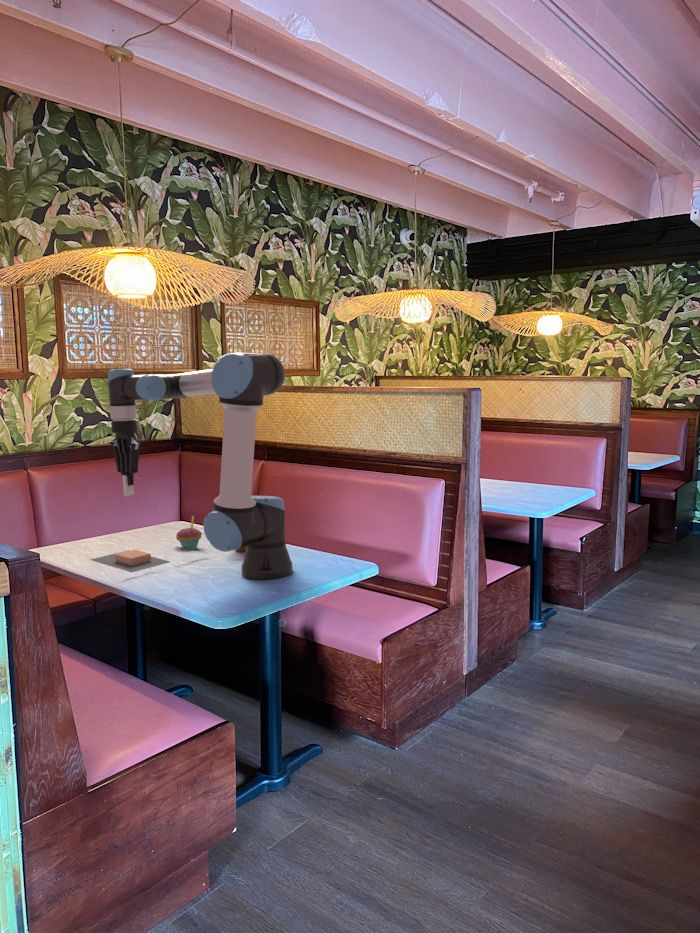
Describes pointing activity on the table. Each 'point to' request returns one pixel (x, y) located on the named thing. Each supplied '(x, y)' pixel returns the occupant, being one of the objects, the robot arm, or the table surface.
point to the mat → (111, 562)
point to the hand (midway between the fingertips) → (129, 495)
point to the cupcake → (189, 537)
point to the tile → (133, 557)
